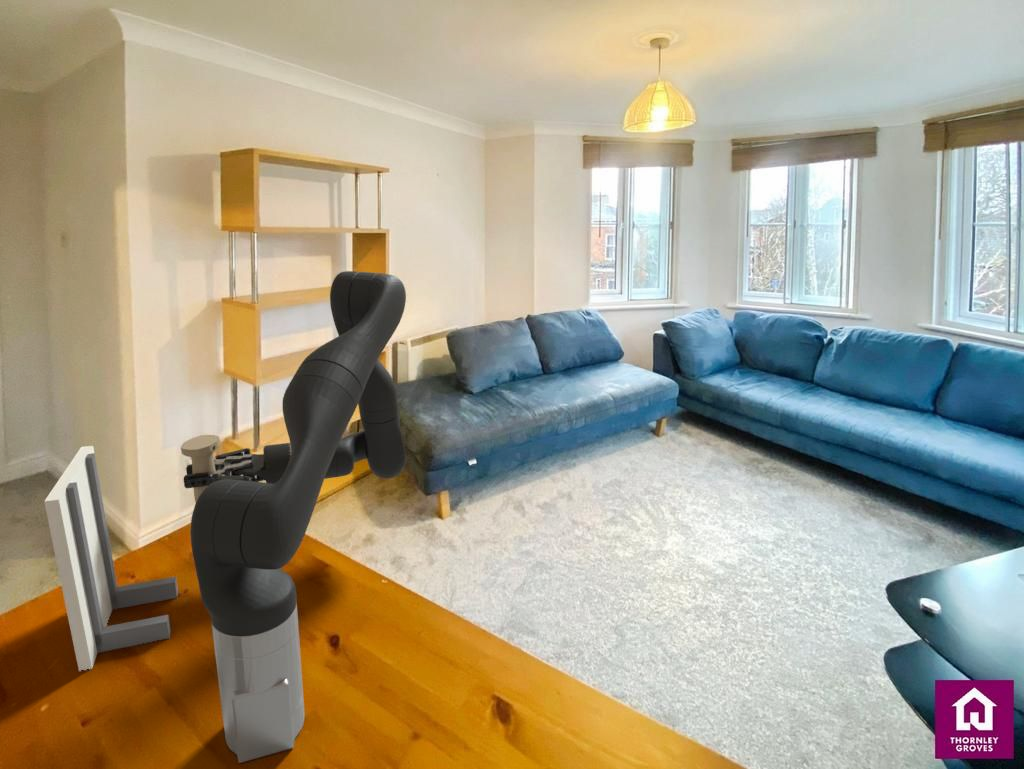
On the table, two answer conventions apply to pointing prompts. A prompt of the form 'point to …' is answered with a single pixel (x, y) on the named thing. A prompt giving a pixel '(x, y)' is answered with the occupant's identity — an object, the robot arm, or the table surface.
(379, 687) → the table surface
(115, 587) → the rack
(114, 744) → the table surface
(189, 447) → the handle
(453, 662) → the table surface
